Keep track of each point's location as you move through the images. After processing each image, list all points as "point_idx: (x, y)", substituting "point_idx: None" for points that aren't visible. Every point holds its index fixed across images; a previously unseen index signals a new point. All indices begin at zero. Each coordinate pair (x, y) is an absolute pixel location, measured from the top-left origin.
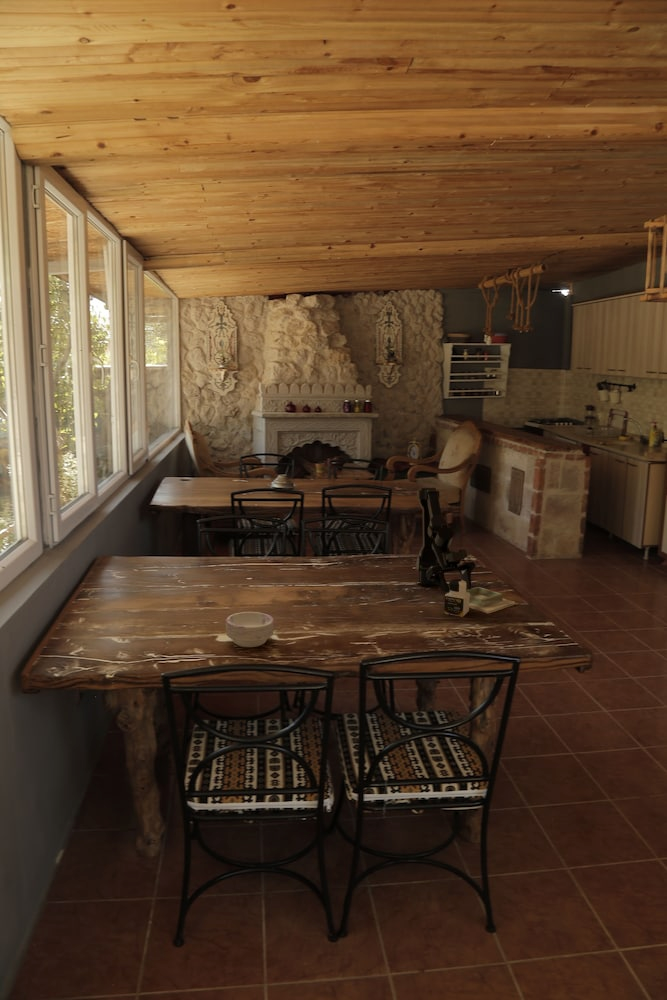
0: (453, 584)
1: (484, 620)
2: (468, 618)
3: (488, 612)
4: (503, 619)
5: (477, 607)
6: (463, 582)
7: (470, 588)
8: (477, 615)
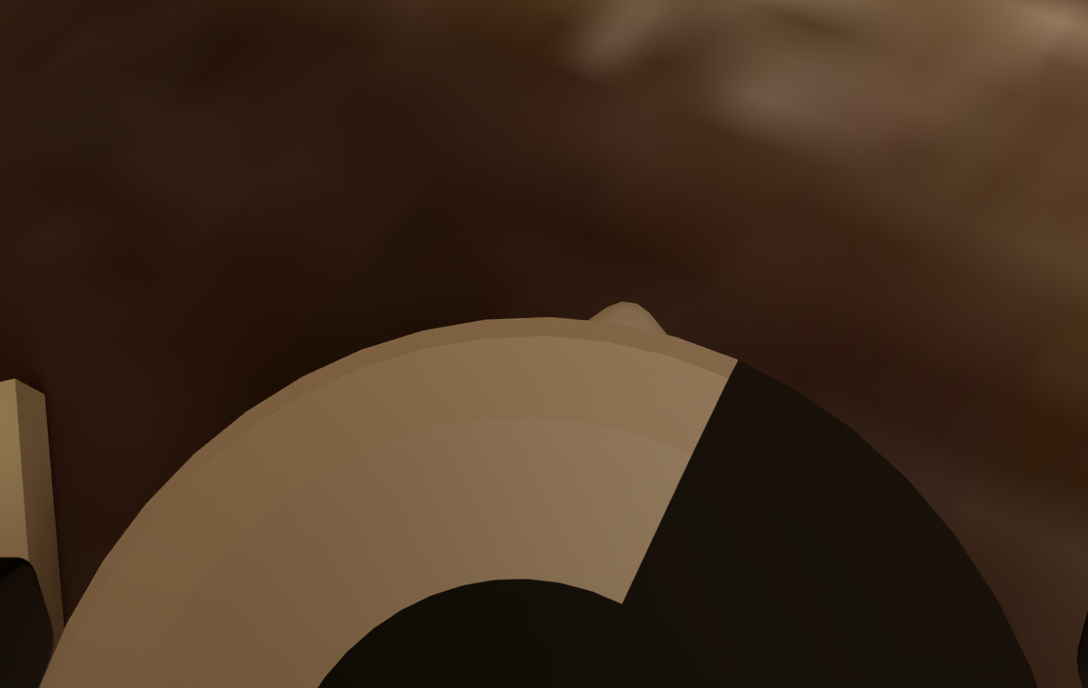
0: (993, 597)
1: (367, 139)
2: None
3: (26, 391)
4: (49, 63)
5: None
6: (380, 414)
7: (26, 565)
8: None
